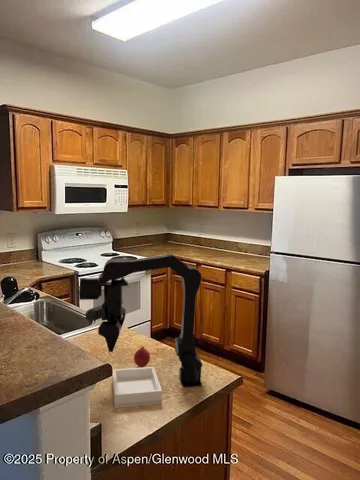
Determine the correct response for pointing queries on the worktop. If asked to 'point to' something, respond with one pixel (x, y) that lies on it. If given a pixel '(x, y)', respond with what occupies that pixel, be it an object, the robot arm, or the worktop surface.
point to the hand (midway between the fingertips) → (113, 345)
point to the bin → (136, 387)
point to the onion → (142, 357)
